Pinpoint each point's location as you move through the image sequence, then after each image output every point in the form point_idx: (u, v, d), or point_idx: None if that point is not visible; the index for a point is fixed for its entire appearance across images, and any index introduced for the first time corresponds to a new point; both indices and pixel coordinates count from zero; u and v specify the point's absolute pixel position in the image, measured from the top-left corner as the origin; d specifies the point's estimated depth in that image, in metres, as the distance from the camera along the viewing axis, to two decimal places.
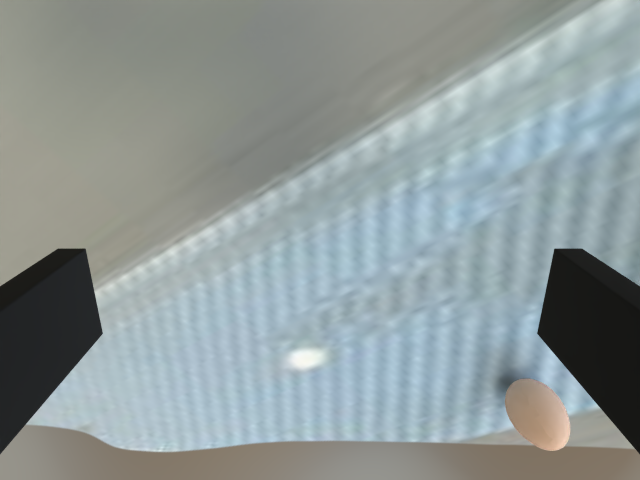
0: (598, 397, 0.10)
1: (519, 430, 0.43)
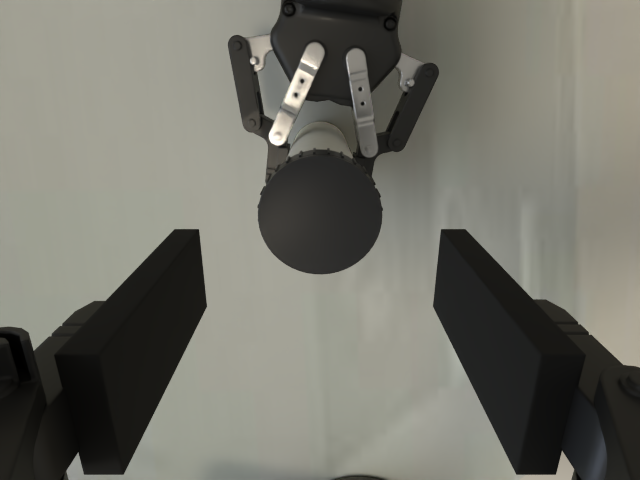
0: (460, 355, 0.12)
1: None
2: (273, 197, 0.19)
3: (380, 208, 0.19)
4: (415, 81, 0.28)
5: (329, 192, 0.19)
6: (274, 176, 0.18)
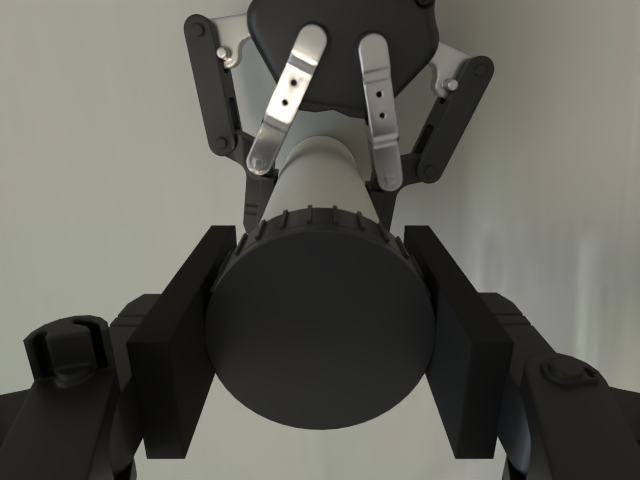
0: None
1: None
2: (231, 304, 0.10)
3: (433, 323, 0.10)
4: (459, 83, 0.19)
5: (337, 296, 0.10)
6: (232, 267, 0.10)
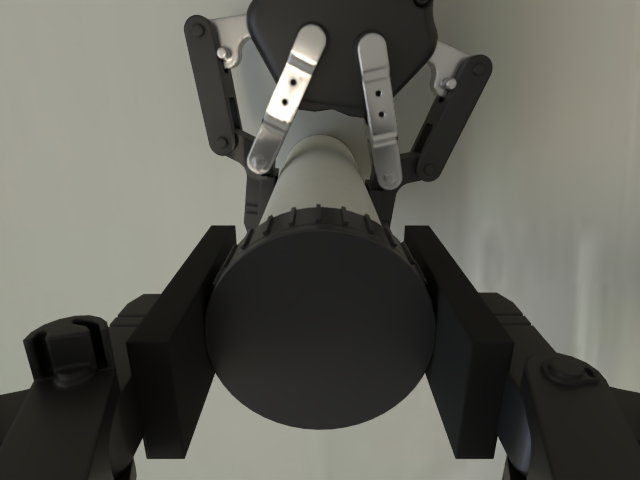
0: None
1: None
2: (334, 413, 0.11)
3: (236, 264, 0.09)
4: (458, 81, 0.19)
5: (270, 350, 0.10)
6: (303, 427, 0.11)
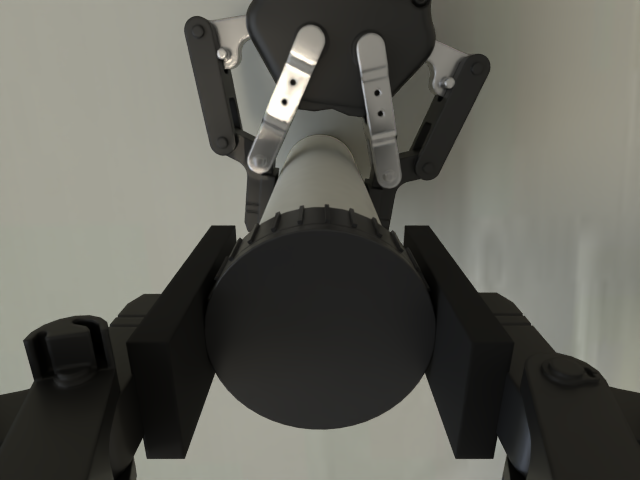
0: None
1: None
2: (392, 280, 0.10)
3: (298, 426, 0.11)
4: (456, 81, 0.19)
5: (358, 367, 0.10)
6: (427, 296, 0.10)
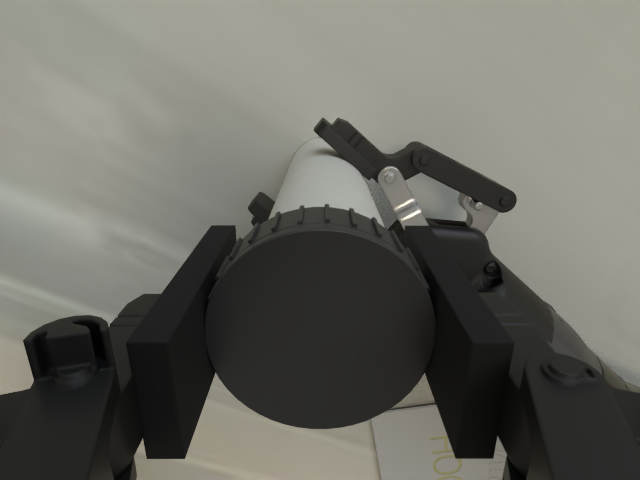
0: None
1: None
2: (392, 280, 0.10)
3: (298, 426, 0.11)
4: None
5: (358, 367, 0.10)
6: (427, 295, 0.10)
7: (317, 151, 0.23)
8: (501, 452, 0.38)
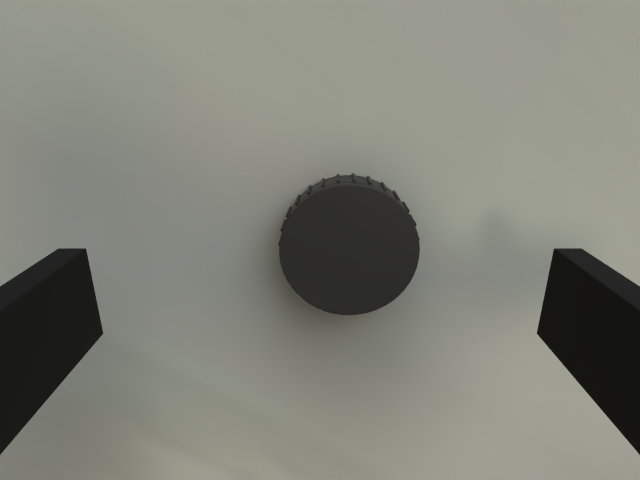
0: (598, 397, 0.10)
1: None
2: (392, 215, 0.16)
3: (334, 312, 0.18)
4: None
5: (372, 272, 0.17)
6: (413, 226, 0.16)
7: None
8: None
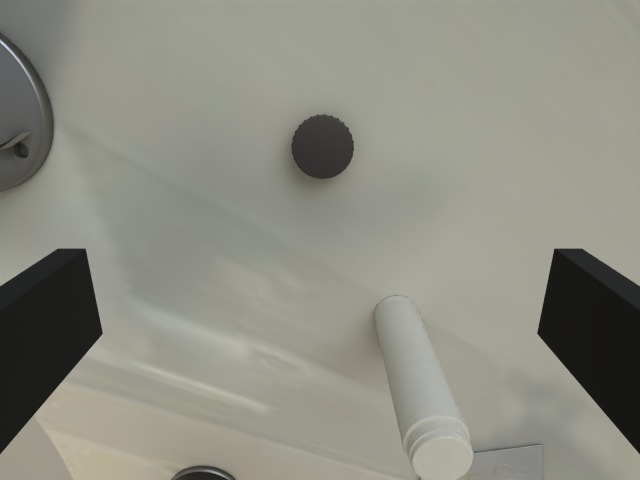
0: (598, 397, 0.10)
1: None
2: (341, 130, 0.38)
3: (316, 177, 0.39)
4: None
5: (333, 157, 0.39)
6: (350, 135, 0.38)
7: (403, 326, 0.40)
8: None
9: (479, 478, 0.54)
